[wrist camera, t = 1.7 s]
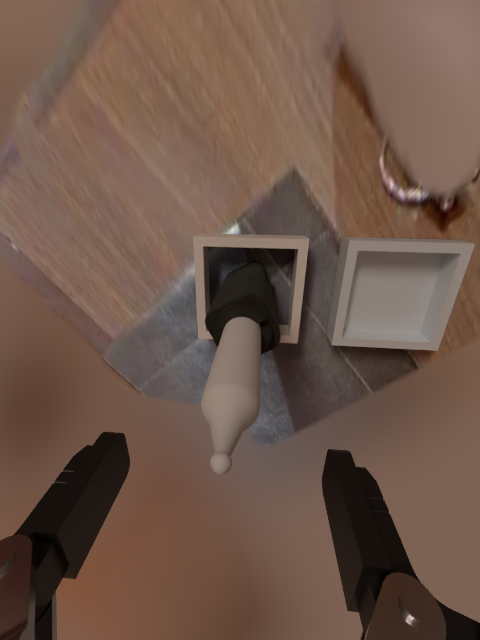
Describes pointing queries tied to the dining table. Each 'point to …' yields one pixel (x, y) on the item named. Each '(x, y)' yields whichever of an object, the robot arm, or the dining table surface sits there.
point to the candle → (238, 357)
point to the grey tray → (395, 291)
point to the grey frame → (251, 241)
